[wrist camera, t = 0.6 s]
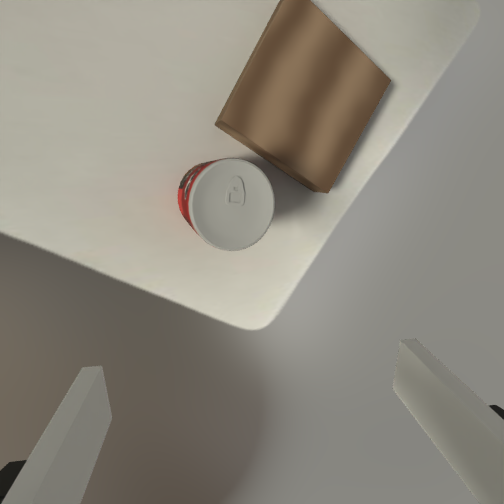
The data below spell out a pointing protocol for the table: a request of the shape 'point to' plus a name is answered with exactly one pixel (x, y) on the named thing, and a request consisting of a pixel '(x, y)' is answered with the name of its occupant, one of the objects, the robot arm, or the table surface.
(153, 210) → the table surface
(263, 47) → the walnut stand
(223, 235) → the canned food
